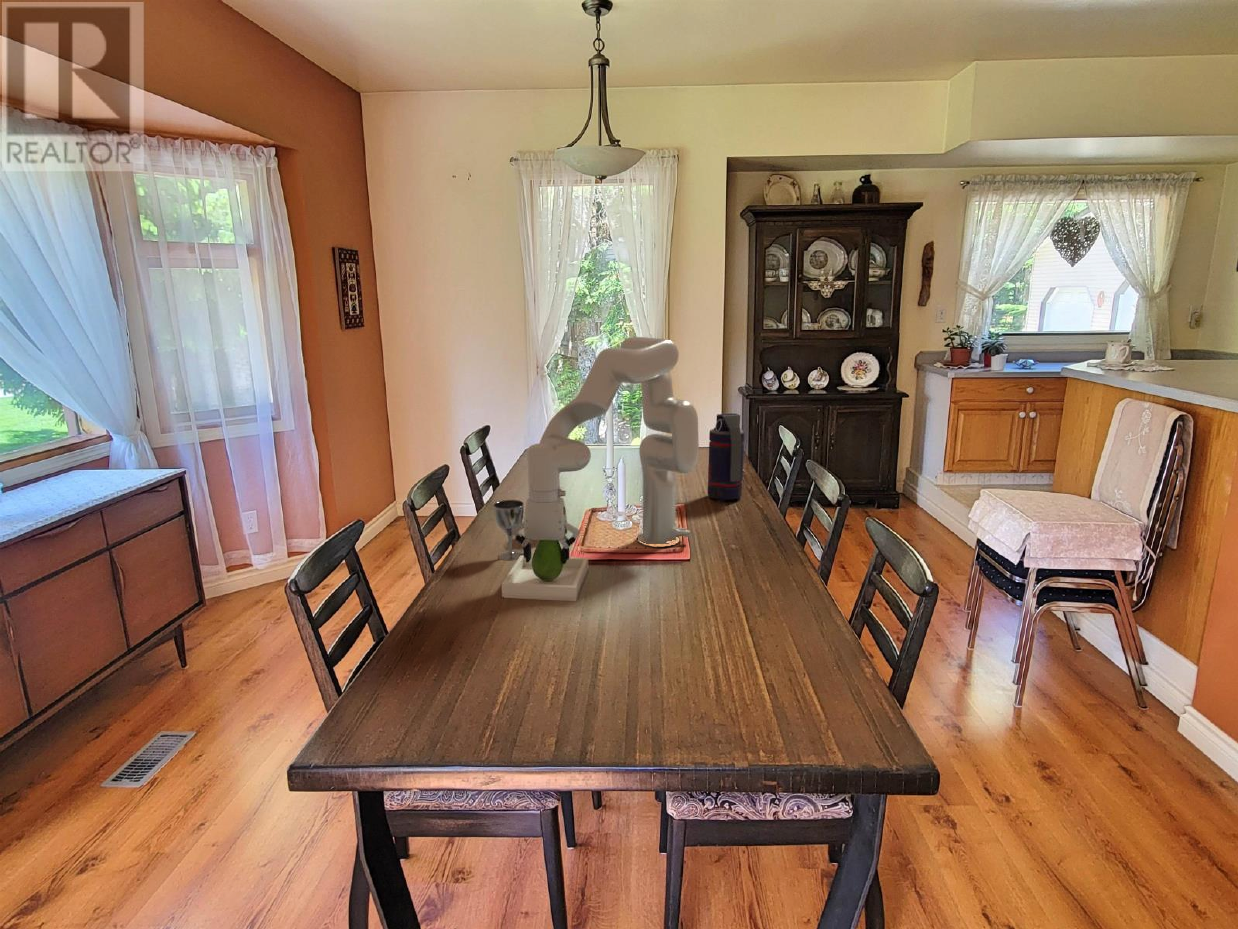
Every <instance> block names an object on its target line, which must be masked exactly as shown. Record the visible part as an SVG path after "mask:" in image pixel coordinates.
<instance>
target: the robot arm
mask: <svg viewBox="0 0 1238 929" xmlns="http://www.w3.org/2000/svg"><path fill="white" fill-rule="evenodd" d="M679 353H680V352H679V349H678V346H677V345H676V343H674V342H673V341H672V340H670V339H666V338H656V337H647V336H646V337H643V336H633V337H627V338H626V339H624V340H623V341H622V342H621V343H620V347H607V348H604V349H602V350H601V351H600V352H599V353H598V355H597V357H596V358H595V360H594V362H593V364H592V366H591V368H590V370H589V371H588V375H587V377H586V378H585V379H584V382H583V385H582V386H581V388H580V390H579V392H578V394H577V395H576V396H575V397H574V398H573V399H572V400H571V401H569V402H568V403H566V404H565V405H564V406H563V407H562V408H561V409H560V410H559V411H558V412H556V414H554V415H553V417H552V418H551V420H549V423H548V424H547V426H546V428H545V430H544V432H543V434H542V436H541V439H540V441H539V443H536V444H535V443H534V444H531V445H529V446H528V448H527V451H526V452H527V454H526V458H527V481H528V483H527V484H528V498H526V501H525V502H526V503H525V509H524V518H523V520H524V521H522V523H520V524H519V525H517V526H515V527H513V528H512V530H511V531H512V533H513V537H514V538H515V540H516V541H517V542H518V543H519V544H520V545H521V547H522V549H523V553H524V558H526V562H529V561H530V559H531V557H532V556H533V555H532V544H531V543H530V542H531V541H540V540H552V541H559V543H560V545H562V547H561V549H562V563H563V564H565V563H566V561H567V559H569V557H570V547H571V546H572V545H573V544H574V543H575V542H576V541H577V539H578V537H579V535H580V533H581V530H580V529H579V528H577V527H575V526H574V525H572V524H570V523H569V522H568V520H567V510H566V504H565V499H564V498H563V497H566V494H567V491H566V490H563V489H562V488H561V486H560V485H561V484H560V473H563V472H564V473H567V472H578V471H580V470H583V469H584V468H586V467H587V466H588V464H589V463H590V461H591V456H592V455H591V451H590V450H591V449H590V448H589V447H588V445H587V444H585V443H584V442H582V441H579V440H575V439H571V438H569V436H570V435H571V433H572V432H573V431H574V430H575V429H576V428H577V427H578V426H579V425H581V424H583V423H585V422H587V421H589V420H592V419H595V418H598V417H601V416H602V415H605V414H606V413H607V412H608V411H609V409H610V407H611V404H612V402H614V399H615V397H616V395H617V392H618V390H619V388H620V387H621V386H622V385H621V384H622V383H623V384H624V383H625V384H633V385H636V384H637V385H638V384H640V386H641V399H642V400H641V401H642V405H641V406H642V418H643V419H642V420H643V422H644V425H645V427H646V428H648V429H649V430H652V431H655V432H656V431H657V432H661V433H666V434H671V435H666V434H661V433H651V434H648V435H647V436H645V437H644V438H643V439H642V441H641V442H640V444H639V447H638V448H639V459H640V465H641V471H642V532H643V533H641V532H639V533H638V534H637V535H636V539H637V538H638V540H639V541H641V542H643V543H646V544H669V543H666V542H667V541H672V540H676V537H678V538H679V536H680V537H684V538H688V537H689V538H690V537H691V530H688V529H687V528H686V527H679V526H677V522H676V506H677V505H676V504H677V503H676V502H677V501H676V500H677V499H676V498H677V497H676V491H677V482H676V477H675V473H678V474H689V473H691V472H692V471H694V469H695V468H696V466H697V464H698V460H699V451H700V450H699V448H700V446H699V444H700V443H699V418H698V413H697V409H696V408H695V406H694V404H692V403H691V402H689V401H688V400H683V399H677V398H675V397H674V391H673V382H672V376H671V372H670V371H672V370H673V369H674V368H675V367H676V365H677V363H678V361H679ZM521 530H523V532H524V533H523V534H524V535H523V534H522V533H521V532H520V531H521ZM568 532H569V533H571V534H572V535H571V537H569V538H568V536H567V534H568ZM638 540H637V541H638Z"/></svg>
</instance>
